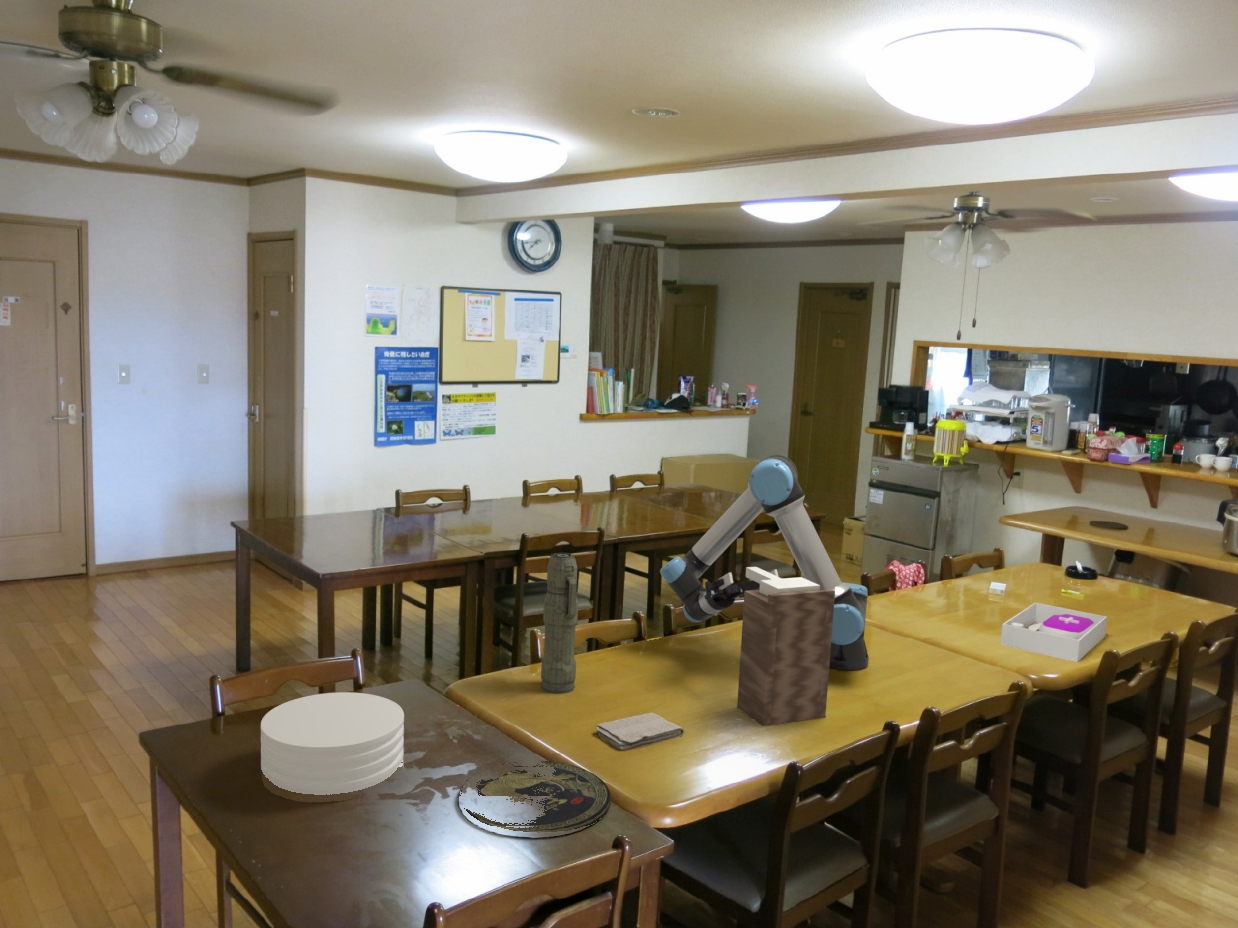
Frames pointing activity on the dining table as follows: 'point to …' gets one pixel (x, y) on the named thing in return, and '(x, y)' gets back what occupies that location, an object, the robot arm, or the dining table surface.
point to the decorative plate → (552, 797)
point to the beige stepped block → (779, 582)
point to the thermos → (560, 625)
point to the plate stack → (332, 743)
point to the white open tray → (1054, 631)
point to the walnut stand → (785, 655)
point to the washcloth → (638, 731)
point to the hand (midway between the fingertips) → (754, 575)
